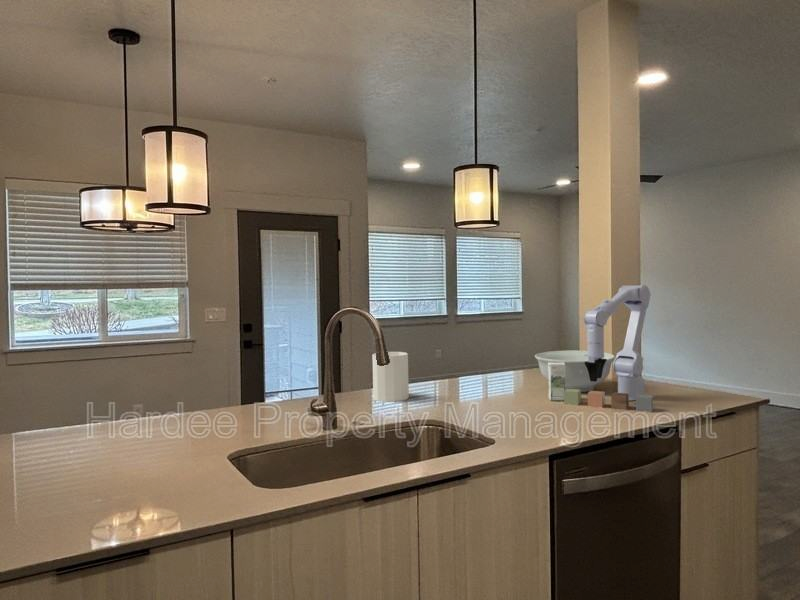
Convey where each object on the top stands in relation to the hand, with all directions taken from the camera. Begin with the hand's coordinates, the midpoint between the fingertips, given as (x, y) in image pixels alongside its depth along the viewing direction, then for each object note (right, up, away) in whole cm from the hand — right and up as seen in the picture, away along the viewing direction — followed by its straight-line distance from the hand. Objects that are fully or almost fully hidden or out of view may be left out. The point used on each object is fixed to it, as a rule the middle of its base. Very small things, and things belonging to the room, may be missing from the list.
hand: (595, 379), depth 206 cm
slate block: (+14, -10, -8) cm, 19 cm away
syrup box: (-11, -10, +12) cm, 19 cm away
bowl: (+2, -9, +32) cm, 33 cm away
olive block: (-7, -10, +4) cm, 13 cm away
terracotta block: (0, -10, 0) cm, 10 cm away
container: (-76, -11, +22) cm, 80 cm away
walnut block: (+7, -10, -4) cm, 13 cm away
